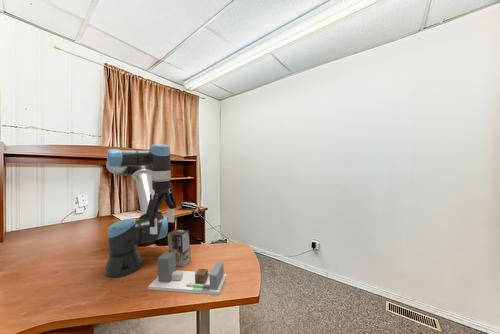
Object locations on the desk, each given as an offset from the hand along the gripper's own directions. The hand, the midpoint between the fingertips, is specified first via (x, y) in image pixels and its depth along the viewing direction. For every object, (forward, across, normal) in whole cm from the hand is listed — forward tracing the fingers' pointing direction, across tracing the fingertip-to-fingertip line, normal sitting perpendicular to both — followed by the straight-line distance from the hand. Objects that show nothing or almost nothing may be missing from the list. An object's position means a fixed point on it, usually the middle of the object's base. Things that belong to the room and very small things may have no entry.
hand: (163, 227), depth 87 cm
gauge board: (+23, -2, -13) cm, 26 cm away
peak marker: (+21, -2, -18) cm, 28 cm away
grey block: (+21, -2, -5) cm, 22 cm away
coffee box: (+24, +13, -1) cm, 27 cm away
